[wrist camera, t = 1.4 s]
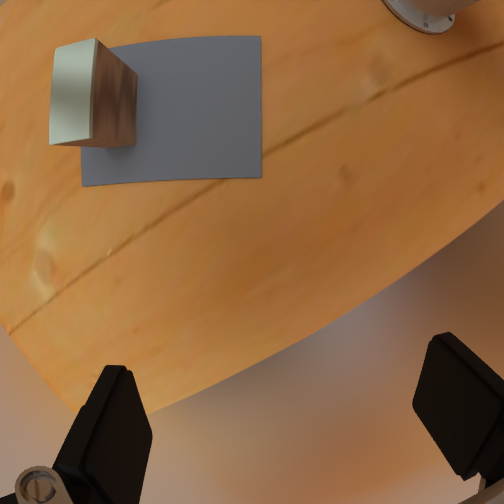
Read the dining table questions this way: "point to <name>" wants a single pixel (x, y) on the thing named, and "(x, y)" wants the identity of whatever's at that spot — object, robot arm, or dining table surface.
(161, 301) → the dining table surface
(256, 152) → the rubber mat
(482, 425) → the robot arm
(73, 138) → the walnut slab
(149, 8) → the dining table surface
